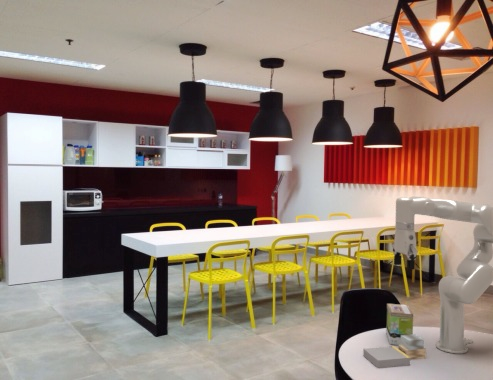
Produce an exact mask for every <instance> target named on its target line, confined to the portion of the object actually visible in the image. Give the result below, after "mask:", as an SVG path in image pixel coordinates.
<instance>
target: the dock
mask: <svg viewBox="0 0 493 380" xmlns="http://www.w3.org/2000/svg"><path fill="white" fill-rule="evenodd" d="M362 352H363V353H362V354H363V357H364V358H365V359H367V360H368V361H369V363H371V364H372V365H374V366H375V367H376V368H377V369H383V368H393V367H394V368H395V367H403V366H411V359H410V357H409V356H407V355H406V354H405V353H403V352H402V351H400V350H399V349H398V347H396V346H395V345H392V346H381V347H380V346H379V347H369V348H363V351H362Z"/></svg>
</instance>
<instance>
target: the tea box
mask: <svg viewBox="0 0 493 380" xmlns="http://www.w3.org/2000/svg"><path fill="white" fill-rule="evenodd" d="M385 324H386V325H385V326H386V328H385V331H386V336H387V340H388V343H389V345H392V346H395V345H396V346H398V345H400V344H401V335H412V334H414V332H413V331H414V330H413V329H414V313H413V311H412V309H411V308H410V306H409V305H408V304H398V303H397V304H395V303H386V323H385Z"/></svg>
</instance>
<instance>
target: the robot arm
mask: <svg viewBox="0 0 493 380" xmlns="http://www.w3.org/2000/svg"><path fill="white" fill-rule="evenodd" d="M415 215H421V216H428V217H434V218H438V219H442V220H449V221H456V222H465V223H473V224H476V225H475V226H474V227H473V231H472V232H473V233H472V234H473V242H474V244H473V247H472V249H471V250H470V252H469V253H468V254H466V256H465V257H464V258H463V259H462V261H460V263H458V266H457V267H456V275H458V276H453V275H446V276H443V277H442V278H441V279H440V280H439V282H438V294H439V299H440V300H439V301H440V313H439V315H440V318H439V340H438V341H437V342H436V343H435V346H436V348H437V349H438V350H440V351H443V352H446V353H450V354H457V355H458V354H459V355H460V354H465V353H467V352H468V351H469V348H468V346H467V345H472V344H474V340H473V339H472V338H470V339H469V338H466V337H465V305H471V304H474V303H475V302H476V301H477V300H478V299H480V297H481V296H482V295H483V294H484V293H485V292H486V290H487V289H488V288H489V287H490V286H491V285H492V283H493V266H492V265H491V264H490V262H491V261H492V259H493V206H491V205H490V204H482V203H475V202H474V203H473V202H466V201H465V202H464V201H459V200H453V199H433V198H429V197H424V196H411V197H398V198H396V200H395V224H394V225H395V226H394V227H395V232H394V239H393V240H394V241H393V243H392V244H391V245H392V251H393V265H395V266H401V265H402V255H405V256H406V257H407V259H406V269H407V270H415V268H416V267H415V265H416V264H415V261H416V260H417V259H416V258H417V254H418V249H417V236H416V232H415ZM464 304H465V305H464Z"/></svg>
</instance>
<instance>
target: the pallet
mask: <svg viewBox="0 0 493 380" xmlns="http://www.w3.org/2000/svg"><path fill="white" fill-rule="evenodd" d="M397 346H398V347H397V349H399V350H400V351H402V352H403V353H405V354H406V355H407V356H409V357H410V360H419V359H426V358H427V348H426V347H425V339H424V338H422V337H421V336H419V335H417V334H416V333H415V334H414V333H413V334H412V335H401V344H400V345H397Z"/></svg>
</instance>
